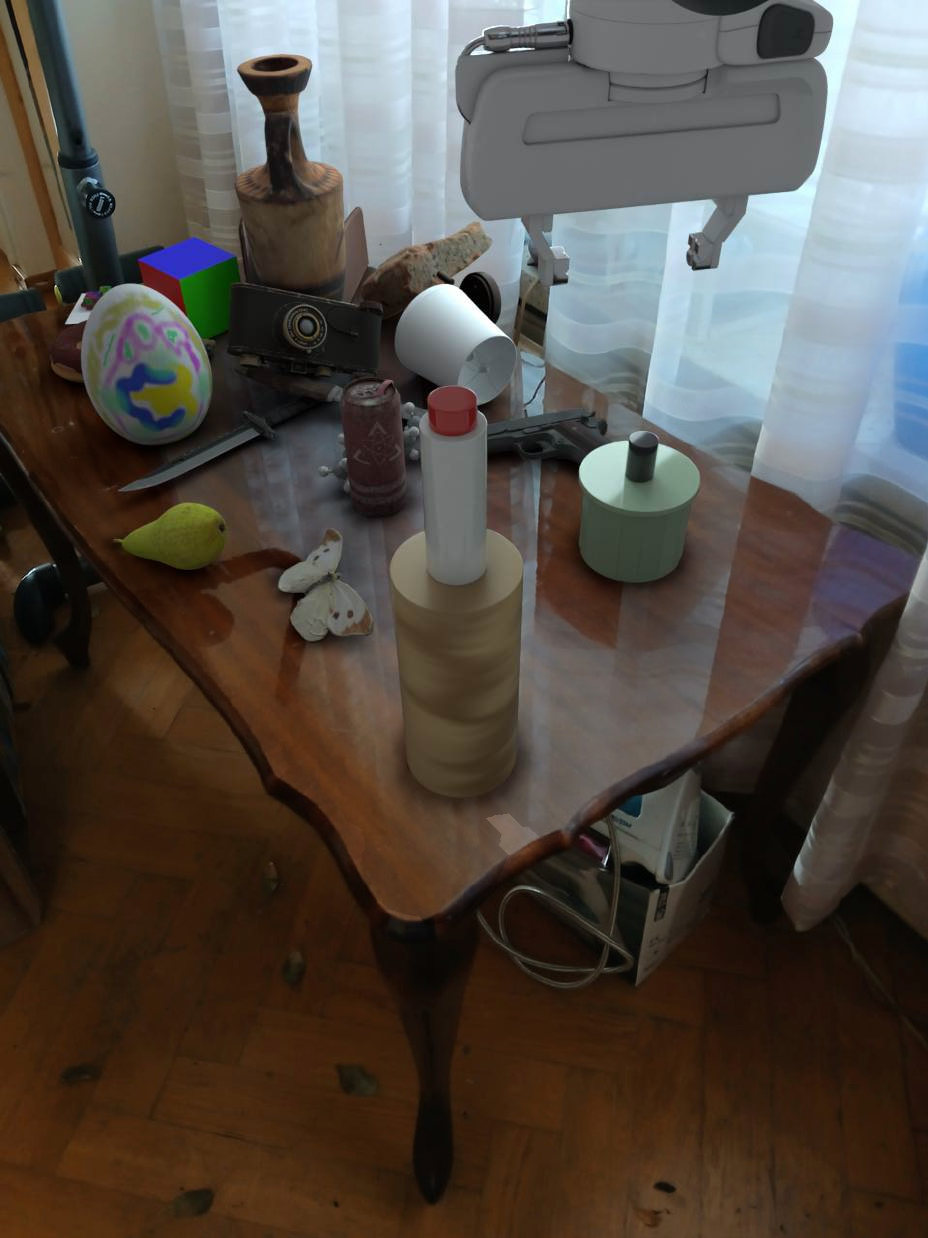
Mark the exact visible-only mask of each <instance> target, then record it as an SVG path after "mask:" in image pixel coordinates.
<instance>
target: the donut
mask: <svg viewBox="0 0 928 1238" xmlns="http://www.w3.org/2000/svg"><path fill="white" fill-rule="evenodd" d="M86 323H87V320H85V321H82V322H80V323H77V324H73V325H72V326H69V327H67V328H65V329H63V330H62V331H61V332H60V333H59V334H58V335H56V338H54V340H53V341H52V343H51V344H50V345H49V349H48V354H49V358H50V360H51V363H50V366H51V369H52V370H53V372H54V373H55V374H56V375H58V376H59V377H60V378H63V379H65V380H67V381H71V382H74V383H80V384H81V383H82V384H85V383H84V378H83V373H82V365H81V346H82V339H83V333H84V329H85V326H86Z"/></svg>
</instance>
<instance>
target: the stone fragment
mask: <svg viewBox="0 0 928 1238" xmlns="http://www.w3.org/2000/svg"><path fill="white" fill-rule="evenodd" d="M492 244H493V239H492V237H491V236H489V235H487V234H486V232H485V230H484V228H483V225H482V223H481V222H480V221H476V220H474V221H472V222H471V223H469V224H468V225H466V226H465V227H463V228H462V229H460V230H459V231H457V232H455V233H454V234H452V235H450V236H448V237H445V238H440V239H437V240H432V241H429V242H427V243H423V244H419V245H418V244H417V245H409V246H406V247H404V248H403V249H401V250H399V251H398V252H397V253H395V254H393V255H391V256H389V257H388V258H387V259H386V260H385V261H384V262H381V263H380V264H379V265H378V267H377V269H376V270H375V271H374V272H373V273H372V274H371V275H369V277H367V278H366V280H364V282H363V283H362V285H361V287H360V296H361V298H362V300H363V301H373V302H378V303H380V304H382V309H383V311H382V313H383V314H384V315H383V316H382V319H381V321H382V320H383V321H384V320H388V319H390V318H392V317H394V316H396V315H398V314H400V313H402V311H405V309H406V308H407V307H408V305H409V304H410V303H411V302H412V301H413V300H414V299H415V298H416V297H417V296H418V295H419V294H420V293H422V292H423V291H425V290H427V289H428V288H431V287H433V286H436V285H441V284H444V283H445V282H443V281H442V280H440V279H439V278H438V277H437V272H438V271H440V270H441V271H443V272H444V273H446V274H447V275H448V276H450V277H451V278H453V277H454V276H456V275H457V274H459V273H460V272H462V271H463V270H465V269H466V268H469V266H471V265H472V263H474V262H476V261H477V260H478V259H479V258H480V257H481V256H482V255H483V254H485V253H486V252H487V251H488V250H489V249H490V248H491V246H492Z"/></svg>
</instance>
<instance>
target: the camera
mask: <svg viewBox="0 0 928 1238" xmlns="http://www.w3.org/2000/svg"><path fill="white" fill-rule="evenodd" d="M230 290H231V293H230V311H229V329H228V330H227V335H228V336H227V347H226V353H227V354H228V355H230V356H234V357H239V363H240V365H241V366H243V367H248V368H259V367H260V365H262V366H264V365H265V366H266V365H267V364H269V362H270V363H276V364H277V365H276V367H277V368H283V367H282V366H284V365H285V364H286V365H285V367H284V368H283V372H287V373H294V374H298V375H305V374H307V373H306V369H307V368H313V369H315V373H313V374H314V376H315V377H317V378H325V379H329V378H332V377H333V373H339V374H344V375H351V376H354V380H357V379H361V378H366V377H378V376H379V374H380V373H379V364H380V363H379V362H380V350H381V349H380V348H381V332H382V320H381V319H382V316H383V315H384V314H383V313H382V311H383V309H382V304H380V303H378V302H373V301H364V300H363V301H360V303H359V304H355V303H351V302H350V303H345V302H340V301H335V300H330V299H325V298H320V297H315V296H310V295H305V294H300V293H295V292H290V291H285V290H280V289H275V288H269V287H264V286H259V285H254V284H249V283H246V282H241V283H233V284H231V285H230ZM278 363H281V364H278Z"/></svg>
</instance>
